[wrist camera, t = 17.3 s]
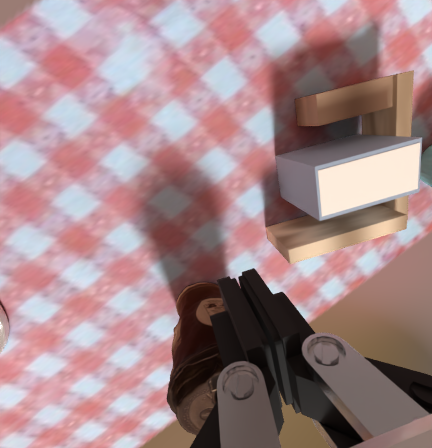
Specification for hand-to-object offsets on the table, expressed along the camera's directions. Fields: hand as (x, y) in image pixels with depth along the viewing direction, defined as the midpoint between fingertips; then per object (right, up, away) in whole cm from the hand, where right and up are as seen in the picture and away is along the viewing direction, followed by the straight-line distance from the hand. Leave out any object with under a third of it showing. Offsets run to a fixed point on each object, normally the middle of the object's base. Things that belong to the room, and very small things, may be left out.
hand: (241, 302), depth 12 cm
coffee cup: (-3, -6, +21) cm, 22 cm away
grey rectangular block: (+10, +10, +17) cm, 22 cm away
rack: (+9, +9, +17) cm, 21 cm away
